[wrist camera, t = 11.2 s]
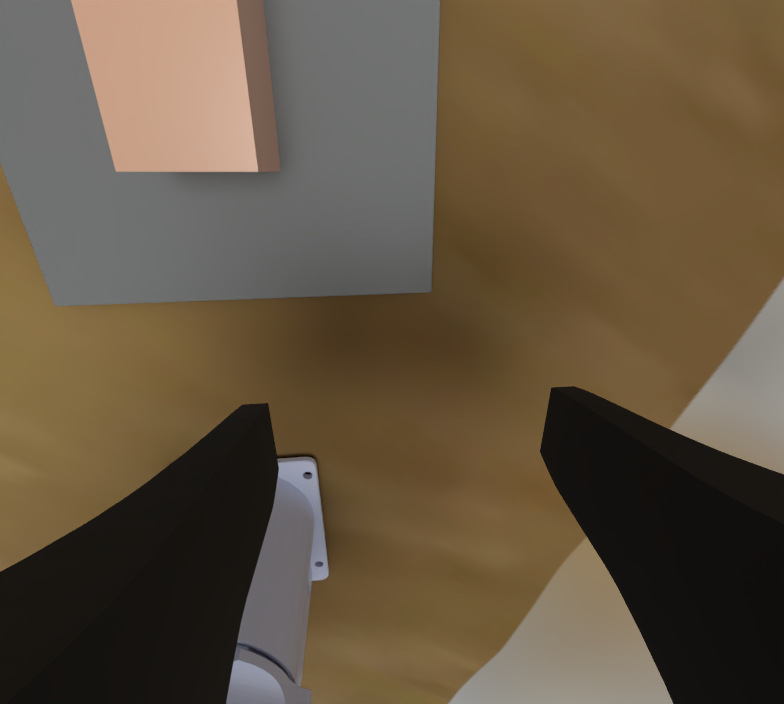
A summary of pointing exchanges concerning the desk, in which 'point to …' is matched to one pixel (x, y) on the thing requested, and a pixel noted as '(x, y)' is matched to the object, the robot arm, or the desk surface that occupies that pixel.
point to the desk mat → (234, 189)
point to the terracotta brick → (182, 83)
